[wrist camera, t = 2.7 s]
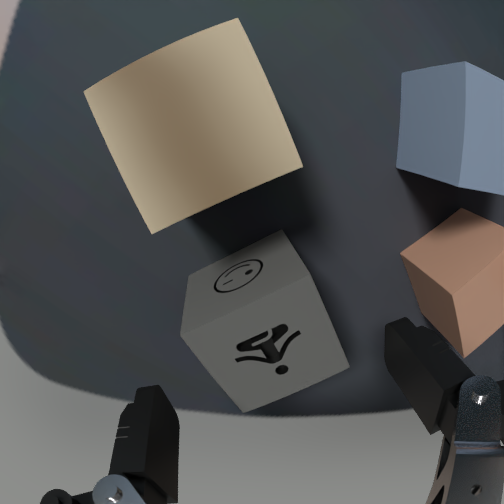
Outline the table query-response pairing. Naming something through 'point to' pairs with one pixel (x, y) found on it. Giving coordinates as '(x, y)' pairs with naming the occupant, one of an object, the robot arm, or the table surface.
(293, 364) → the dice cube
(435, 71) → the slate-blue cube
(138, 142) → the beech cube
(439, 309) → the terracotta cube
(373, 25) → the table surface
